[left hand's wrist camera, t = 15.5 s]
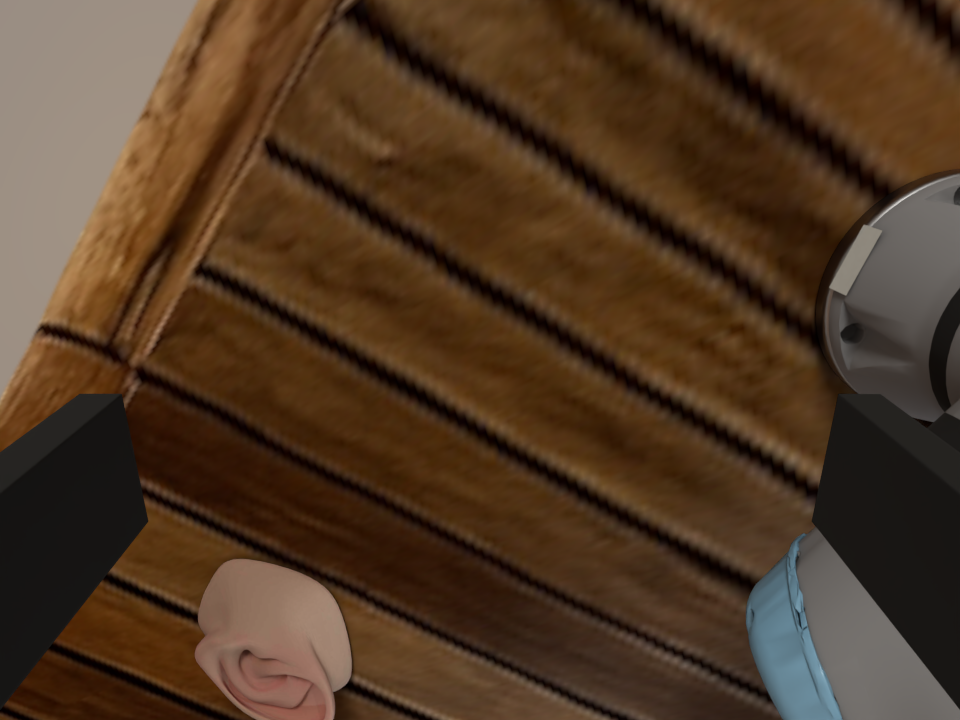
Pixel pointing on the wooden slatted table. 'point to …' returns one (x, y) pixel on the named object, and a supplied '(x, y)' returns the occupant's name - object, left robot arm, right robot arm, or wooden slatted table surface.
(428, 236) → the wooden slatted table surface
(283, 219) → the wooden slatted table surface
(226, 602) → the anatomical model
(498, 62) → the wooden slatted table surface
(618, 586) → the wooden slatted table surface
